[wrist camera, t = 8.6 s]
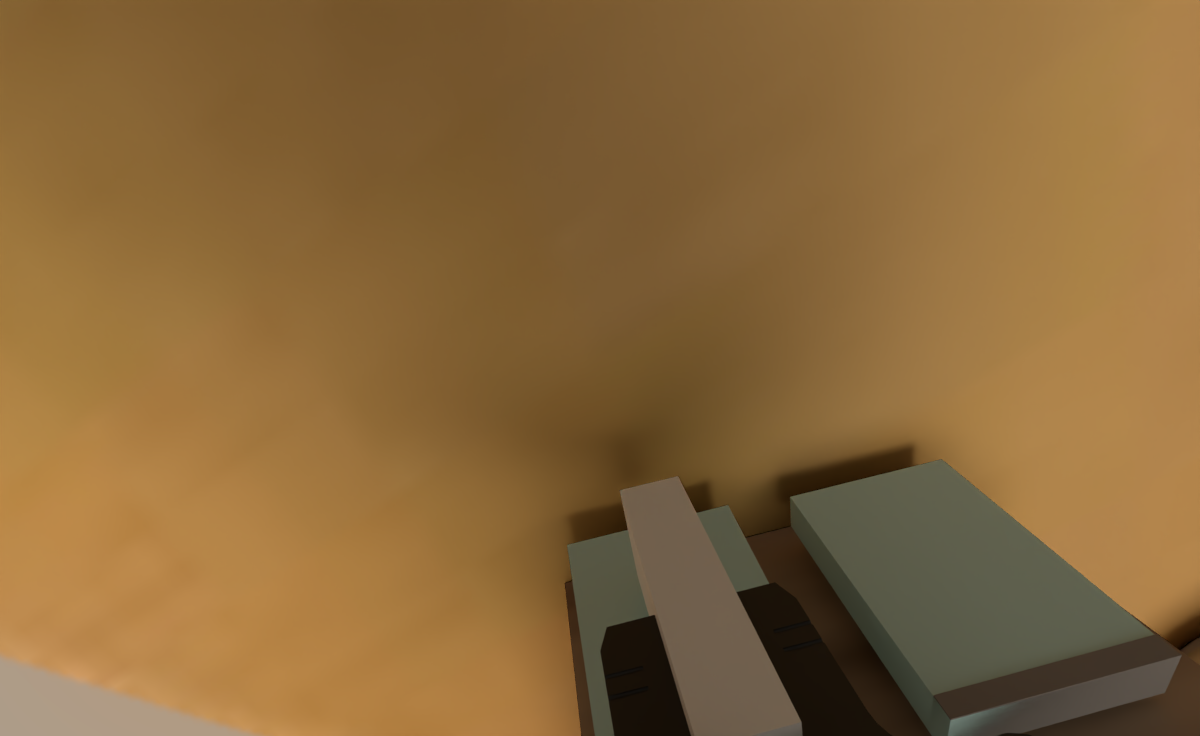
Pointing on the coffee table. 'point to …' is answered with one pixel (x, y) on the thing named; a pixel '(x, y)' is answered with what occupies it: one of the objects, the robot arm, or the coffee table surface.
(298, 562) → the coffee table surface
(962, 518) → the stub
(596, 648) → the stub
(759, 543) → the block
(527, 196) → the coffee table surface
